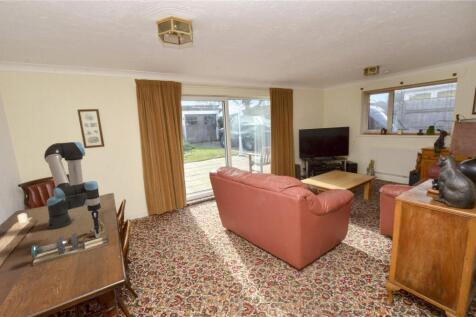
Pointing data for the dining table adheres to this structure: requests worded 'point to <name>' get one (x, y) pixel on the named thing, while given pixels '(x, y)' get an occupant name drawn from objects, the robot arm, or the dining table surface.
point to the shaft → (45, 248)
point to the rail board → (70, 251)
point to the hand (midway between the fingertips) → (97, 234)
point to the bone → (101, 228)
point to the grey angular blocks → (74, 243)
